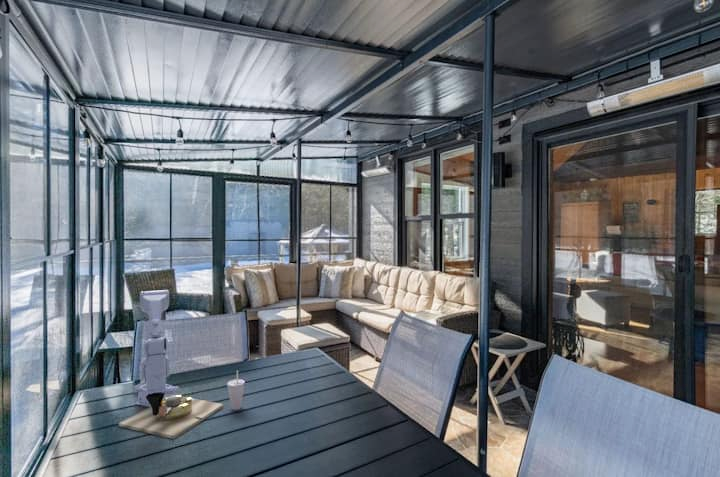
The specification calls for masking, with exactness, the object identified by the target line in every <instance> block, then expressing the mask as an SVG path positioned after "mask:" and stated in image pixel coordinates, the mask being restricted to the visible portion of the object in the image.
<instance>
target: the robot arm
mask: <svg viewBox="0 0 720 477" xmlns="http://www.w3.org/2000/svg"><path fill="white" fill-rule="evenodd" d="M169 306H170V291H169V290H168V289H161V290H145V291H143V290H141V291H140V293H139V308H140V310H141V312H143V313H146V314H147V316H148V322H147V324H146V326H145V340H144V356H145V357H143V359H142V360H141V362H140V382H139V384H137V385H134V386H133V393H135V394H136V393H137V394H138V395H137V396H138V397H137V402H136V405H137V406H142V407H147V408H149V407H152V414H153V415H154V416H156V415H157V414H158V405H160V404H161V402H162V399H167V398H168V397H167V394H169V395H170V394H172V396H173V395H177V394H178V393H179V392H180V390H179V386H176V385H175V386H174V385H171V384H167V378H168V377H169V376H170V372H171V371H170V359H169V356H168V355H167V353H168V338H167V334H166V328H165V327H166V324H165V322H164V321H163V320H162V314H163V312H164V311H166V310H168V308H169Z"/></svg>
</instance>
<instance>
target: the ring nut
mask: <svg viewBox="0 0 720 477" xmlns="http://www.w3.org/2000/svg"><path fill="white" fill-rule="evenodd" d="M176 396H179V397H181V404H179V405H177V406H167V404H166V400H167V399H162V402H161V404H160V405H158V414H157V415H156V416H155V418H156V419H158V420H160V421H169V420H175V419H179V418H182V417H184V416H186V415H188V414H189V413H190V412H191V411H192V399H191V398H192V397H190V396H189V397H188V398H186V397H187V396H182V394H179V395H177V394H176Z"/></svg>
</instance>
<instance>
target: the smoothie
mask: <svg viewBox="0 0 720 477" xmlns="http://www.w3.org/2000/svg"><path fill="white" fill-rule="evenodd" d="M245 382H246V381H245V380H244V379H241V378H240V379H239V370H236V379H235V378H234V379H232V380H229V381H228V382H227V383H226V384H227V385H226V386H227V387H226V388H227V389H228V396H229V403H230V405H229V406H230V410H232V411H238V410H240V409H241V408H242V404H243V397H244V386H245V385H246V383H245Z"/></svg>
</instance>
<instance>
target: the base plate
mask: <svg viewBox="0 0 720 477" xmlns="http://www.w3.org/2000/svg"><path fill="white" fill-rule="evenodd" d="M176 395H177V394H176ZM176 395H173V394H172V395H170V396H168V397H167V400H166V404H167V406H177V405H179V404H181V397H179V396H176ZM185 397H186V398H189V397H187V396H185ZM191 399H192V411H191V412H190V413H189V414H188V415H186V416H184V417H182V418H179V419H175V420H169V421H160V420H158V419H156V418H155V416H154V415H153V414H152V407H147V408H145V409H143V410H142V411H140V412H138V413H136V414H133V415H132V416H130V417H127V418H125V419H124V420H123V421H120V422H118V427H121V428H124V429H129V430H133V431H137V432H141V433H146V434H151V435H155V436H160V437H164V438H167V439H173V440H174V439H176V438H178V437H179V436H181V435H182V434H184V433H185V432H187V431H188V430H190V429H191V428H194V427H195V426H197V424H199V423H201V422H202V421H204V420H206V419H207V418H209V417H211V415H213V414H215V413H216V412H218V411H219V410H221V409H222V408H224V404H223V403H219V402H214V401H208V400H203V399H197V398H192V397H191Z"/></svg>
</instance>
